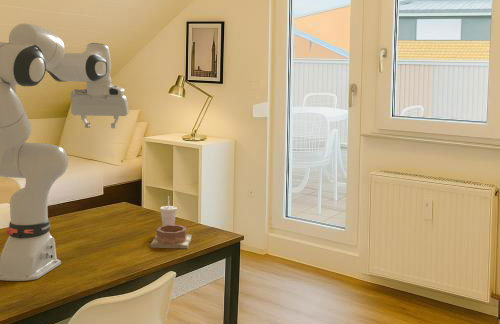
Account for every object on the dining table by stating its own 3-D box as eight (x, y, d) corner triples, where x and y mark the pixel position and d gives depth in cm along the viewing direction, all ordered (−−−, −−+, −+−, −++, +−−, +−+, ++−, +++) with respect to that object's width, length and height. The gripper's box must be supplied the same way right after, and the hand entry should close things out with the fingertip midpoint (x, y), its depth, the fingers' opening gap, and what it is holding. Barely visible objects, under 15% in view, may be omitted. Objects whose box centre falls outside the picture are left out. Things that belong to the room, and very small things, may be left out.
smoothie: (178, 230, 236) (178, 194, 233) (175, 235, 229) (174, 198, 227) (162, 229, 236) (162, 194, 234) (158, 234, 230) (157, 198, 228)
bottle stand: (187, 248, 214) (187, 234, 214) (150, 247, 215) (150, 233, 214) (191, 237, 227) (191, 224, 226) (156, 236, 228) (156, 223, 227)
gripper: (67, 89, 217) (69, 128, 219) (125, 90, 216) (126, 129, 219) (72, 88, 223) (74, 126, 225) (129, 89, 223) (130, 127, 225)
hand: (100, 128), depth 222 cm, fingers open, 8 cm apart
